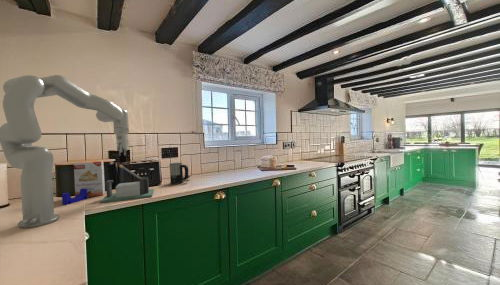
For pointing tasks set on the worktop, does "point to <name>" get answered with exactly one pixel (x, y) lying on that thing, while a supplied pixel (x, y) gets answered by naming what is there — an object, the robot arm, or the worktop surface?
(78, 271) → the worktop surface
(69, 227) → the worktop surface
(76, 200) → the cable clip
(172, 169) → the milk frother
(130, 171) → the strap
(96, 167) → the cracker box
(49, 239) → the worktop surface
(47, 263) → the worktop surface
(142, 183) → the heatsink board
